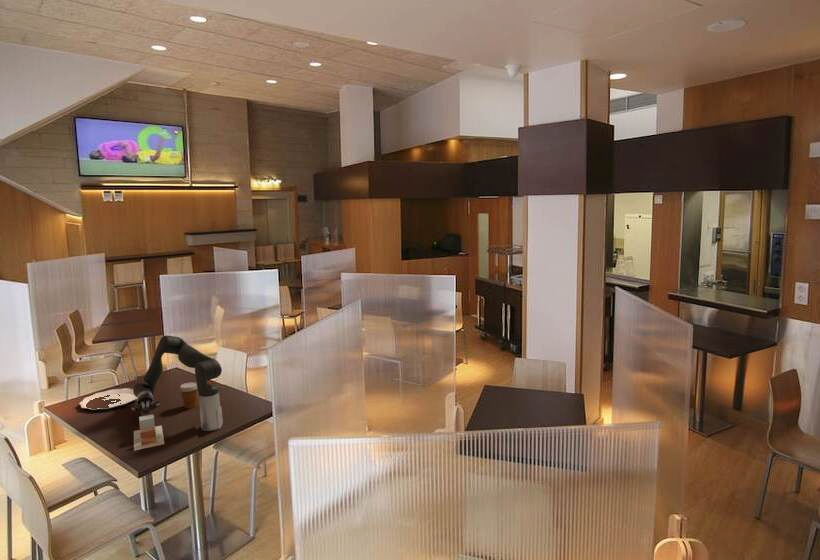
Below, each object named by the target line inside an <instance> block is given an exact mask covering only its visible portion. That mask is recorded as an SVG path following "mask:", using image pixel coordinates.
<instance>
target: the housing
mask: <svg viewBox="0 0 820 560" xmlns="http://www.w3.org/2000/svg"><path fill="white" fill-rule="evenodd" d="M155 432H156V443H151V444H147V445H142V444H141V435H140V429H138V430H133V451H138V450H139V451H140V450H142V449H147V448H152V447H153V448H154V447H156V446H162V445H165V439H164V433H163V426H162V425H157V426H156V425H155Z"/></svg>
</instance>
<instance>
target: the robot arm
mask: <svg viewBox="0 0 820 560" xmlns="http://www.w3.org/2000/svg"><path fill="white" fill-rule="evenodd" d="M164 354H171V355H177V359H178V361H179V362H180V363H181V364H183V366H185V367H188V368H191V369H194V375H195V381H196V383H197V389H198V395H199V398H198V405H199V406H198V408H199V415H200V427H201V430H202V431H204V432H212V431H216V430H220V429H221V427H222V426H223V424H224V423H223V422H224V419H223V411H222V410H223V408H222V405H221V403H220V401H221V400H220V388H219V386H218V385H217V384H213V383H211V384H210V383H209V384H208V381H210V380H214V379H217V378H219V377H220V376H221V375H222V372H223V370H222V366H221V363H220V362H219V361H218V360H217V359H215V358H213V357H210V356H207V355H206V354H204V353H202V352H200V351H199V350H198V349H196V348H194V347H193V346H192V345H189V344H188V343H187V342H186V341H185V340H184V339H182V337H180V336H175V335H166V334H165V335H163V336H162V337H161V338H160V339H159V341H158V344H157V347H156V349H155V351H154V355H153V358H152V360H151V363H150V365H149V367H148V369H147V370H146V372H145V375H144V376H143V381H144V382H142V381H141V382H140V381H139V382H136V384H134V387H133V388H132V389H133V393H134V395H135V396H136V397H137V399H136V404H135V405H131V412H135V413H142V414H143V415H149V413H150V411H154V410H156V409H157V408H159V407H160V401H159V400H157V401H155V400H154V395H155V392H156V387H157V382H158V381H159V379H160V377H161V375H162V373H163V371H164V370H163V369H164V366H163V362H162V357H163V355H164Z"/></svg>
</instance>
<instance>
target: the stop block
mask: <svg viewBox="0 0 820 560" xmlns="http://www.w3.org/2000/svg"><path fill="white" fill-rule="evenodd" d="M140 435H141V444H142V445H147V444H151V443H156V432H155V428H153V429H148V430H143V431H140Z"/></svg>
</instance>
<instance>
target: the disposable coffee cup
mask: <svg viewBox="0 0 820 560" xmlns="http://www.w3.org/2000/svg"><path fill="white" fill-rule="evenodd" d="M179 390H180V392H181V397H182V400H183V405H184V408H185V409H193V407H194V408H196V407H197V406H198V404H199V398H198V389H197V382H195V381H190V382H189V381H188V382H185V383H182V384H181V385H180V386H179Z"/></svg>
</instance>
